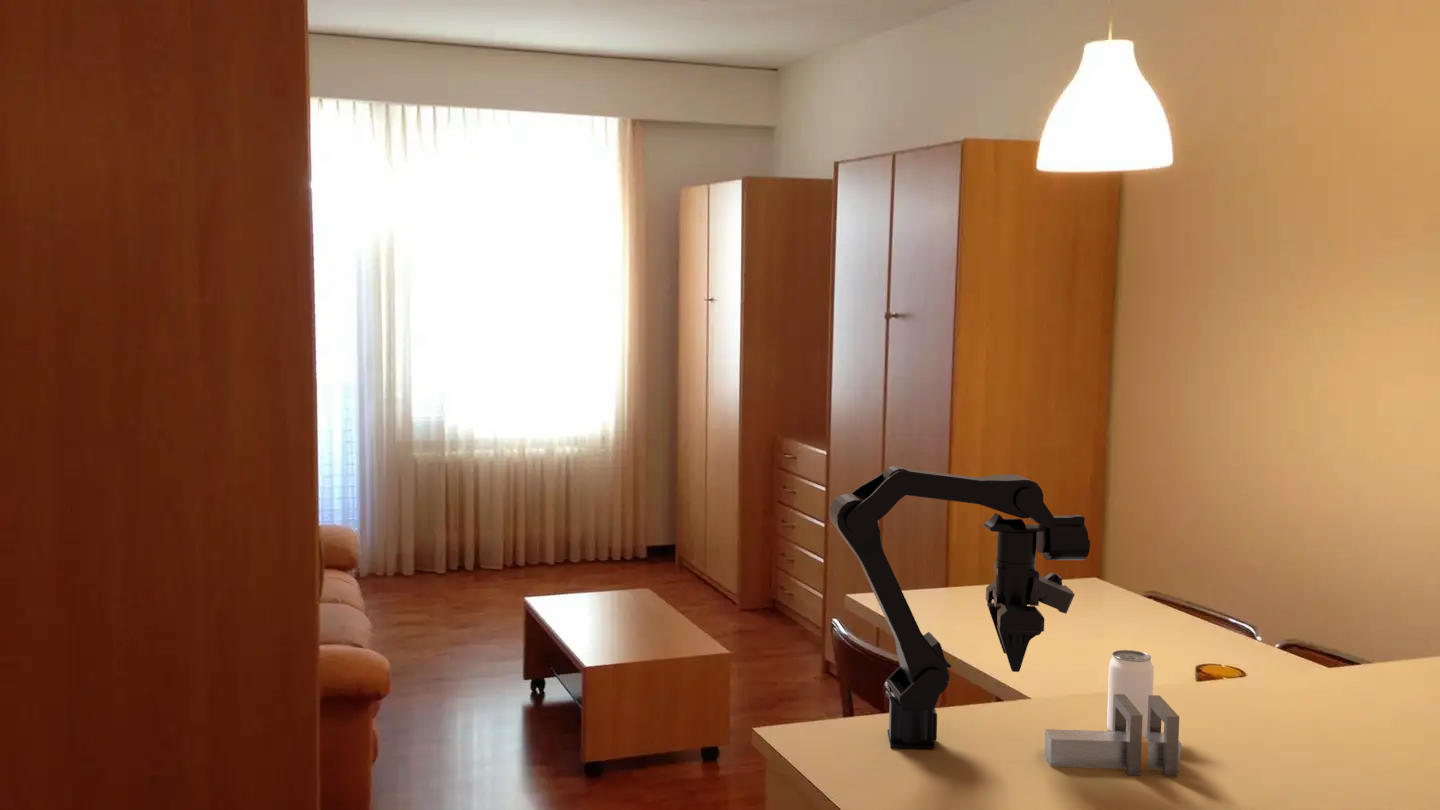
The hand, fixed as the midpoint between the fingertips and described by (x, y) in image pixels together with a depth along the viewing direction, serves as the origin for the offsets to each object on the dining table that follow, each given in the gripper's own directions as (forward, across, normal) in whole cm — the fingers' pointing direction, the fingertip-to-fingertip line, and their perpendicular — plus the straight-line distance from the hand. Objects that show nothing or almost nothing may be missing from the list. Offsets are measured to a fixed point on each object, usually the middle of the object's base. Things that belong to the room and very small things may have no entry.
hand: (1011, 662), depth 178 cm
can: (+12, +5, -19) cm, 23 cm away
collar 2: (+12, -8, -20) cm, 25 cm away
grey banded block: (+12, -8, -14) cm, 20 cm away
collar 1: (+12, -8, -16) cm, 21 cm away
